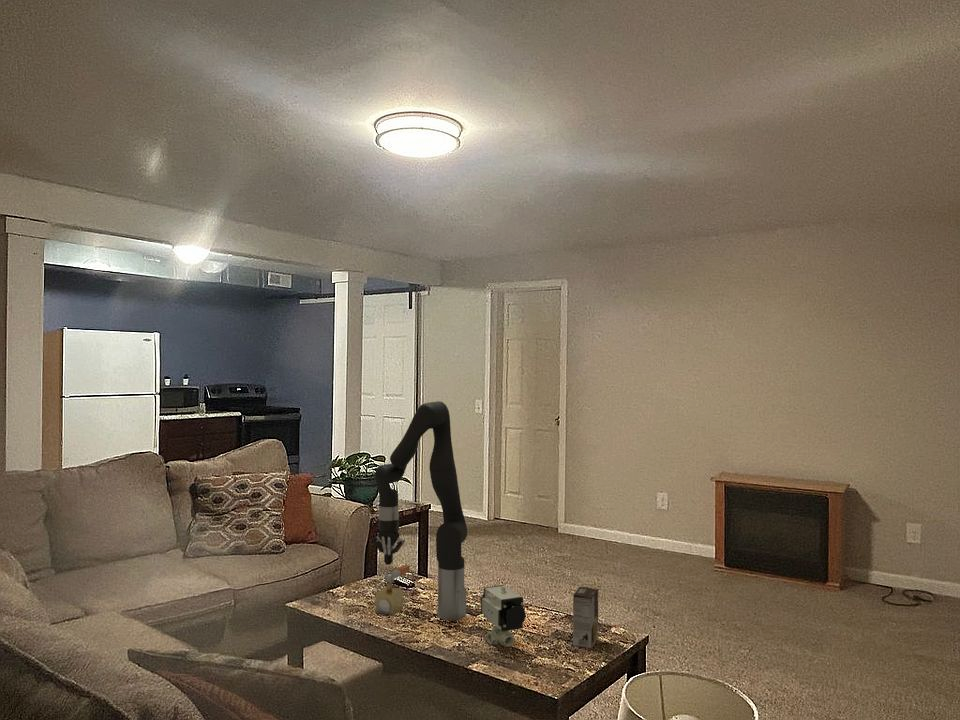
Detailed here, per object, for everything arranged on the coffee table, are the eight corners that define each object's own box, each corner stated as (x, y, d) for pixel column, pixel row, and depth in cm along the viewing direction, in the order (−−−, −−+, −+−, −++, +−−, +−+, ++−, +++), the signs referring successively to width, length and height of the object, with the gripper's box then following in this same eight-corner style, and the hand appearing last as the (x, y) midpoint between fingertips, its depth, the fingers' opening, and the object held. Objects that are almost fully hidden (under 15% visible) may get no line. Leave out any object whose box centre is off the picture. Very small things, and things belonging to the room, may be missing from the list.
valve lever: (391, 583, 251) (391, 575, 251) (383, 581, 252) (383, 574, 252) (410, 571, 264) (410, 565, 264) (403, 570, 266) (403, 564, 266)
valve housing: (403, 608, 256) (404, 579, 256) (391, 616, 247) (391, 586, 247) (387, 605, 258) (387, 577, 258) (373, 613, 250) (374, 584, 250)
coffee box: (579, 635, 232) (579, 585, 232) (598, 638, 230) (599, 588, 230) (571, 645, 224) (572, 594, 224) (591, 648, 221) (592, 597, 222)
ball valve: (476, 635, 231) (477, 580, 231) (499, 631, 235) (500, 577, 235) (501, 656, 215) (502, 597, 215) (526, 651, 218) (526, 594, 218)
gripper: (368, 518, 264) (367, 564, 264) (399, 521, 259) (399, 568, 259) (378, 514, 271) (378, 559, 270) (409, 517, 266) (409, 563, 265)
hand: (388, 564), depth 265 cm, fingers closed
